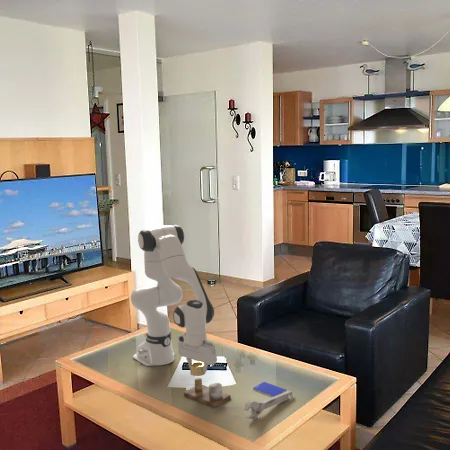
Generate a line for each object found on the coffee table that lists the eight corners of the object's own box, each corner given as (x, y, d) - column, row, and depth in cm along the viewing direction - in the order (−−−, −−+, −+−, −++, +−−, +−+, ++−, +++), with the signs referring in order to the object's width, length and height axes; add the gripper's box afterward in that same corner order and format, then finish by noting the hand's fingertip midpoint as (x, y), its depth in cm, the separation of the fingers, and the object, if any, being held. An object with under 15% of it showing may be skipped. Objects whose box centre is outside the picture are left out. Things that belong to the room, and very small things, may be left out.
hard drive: (252, 387, 238) (275, 396, 230) (264, 381, 244) (286, 389, 235) (252, 390, 238) (275, 399, 230) (264, 384, 244) (286, 392, 236)
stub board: (184, 395, 235) (183, 381, 234) (199, 386, 242) (199, 373, 241) (214, 407, 223) (214, 392, 222) (230, 398, 231) (230, 384, 230)
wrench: (292, 403, 231) (246, 424, 208) (288, 402, 232) (243, 422, 210) (293, 385, 230) (247, 403, 208) (289, 384, 231) (244, 402, 209)
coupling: (187, 373, 234) (187, 364, 234) (197, 368, 239) (197, 360, 238) (198, 377, 230) (197, 368, 229) (208, 372, 235) (208, 363, 234)
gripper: (219, 341, 228) (220, 372, 230) (185, 332, 241) (186, 361, 243) (209, 345, 223) (210, 377, 225) (174, 336, 236) (176, 366, 238)
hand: (197, 369), depth 234 cm, fingers closed on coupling, 6 cm apart
